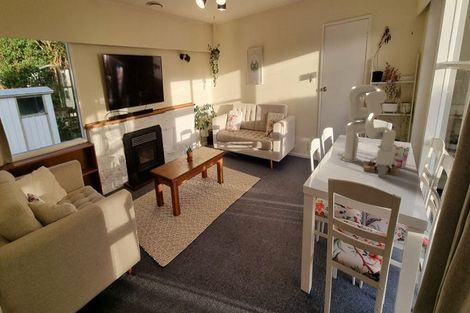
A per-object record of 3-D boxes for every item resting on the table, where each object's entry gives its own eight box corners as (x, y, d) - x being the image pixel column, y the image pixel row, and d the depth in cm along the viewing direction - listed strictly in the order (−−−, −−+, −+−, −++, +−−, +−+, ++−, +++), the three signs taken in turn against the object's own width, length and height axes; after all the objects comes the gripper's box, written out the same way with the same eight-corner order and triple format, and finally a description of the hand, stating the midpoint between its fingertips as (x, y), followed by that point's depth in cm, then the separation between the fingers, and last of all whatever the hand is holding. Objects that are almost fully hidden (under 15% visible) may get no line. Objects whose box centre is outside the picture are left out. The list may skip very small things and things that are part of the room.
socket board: (363, 171, 182) (364, 165, 180) (363, 164, 194) (363, 159, 192) (398, 175, 173) (399, 169, 171) (395, 168, 185) (396, 162, 183)
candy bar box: (405, 167, 184) (410, 147, 179) (400, 169, 183) (405, 148, 177) (391, 162, 194) (395, 143, 189) (387, 163, 193) (391, 144, 187)
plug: (378, 176, 172) (380, 166, 170) (377, 174, 176) (379, 164, 173) (384, 177, 171) (386, 167, 168) (384, 175, 174) (386, 165, 171)
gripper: (372, 148, 166) (368, 172, 172) (402, 151, 159) (397, 175, 165) (371, 145, 173) (367, 168, 179) (400, 147, 166) (395, 171, 172)
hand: (381, 171), depth 172 cm, fingers open, 7 cm apart
